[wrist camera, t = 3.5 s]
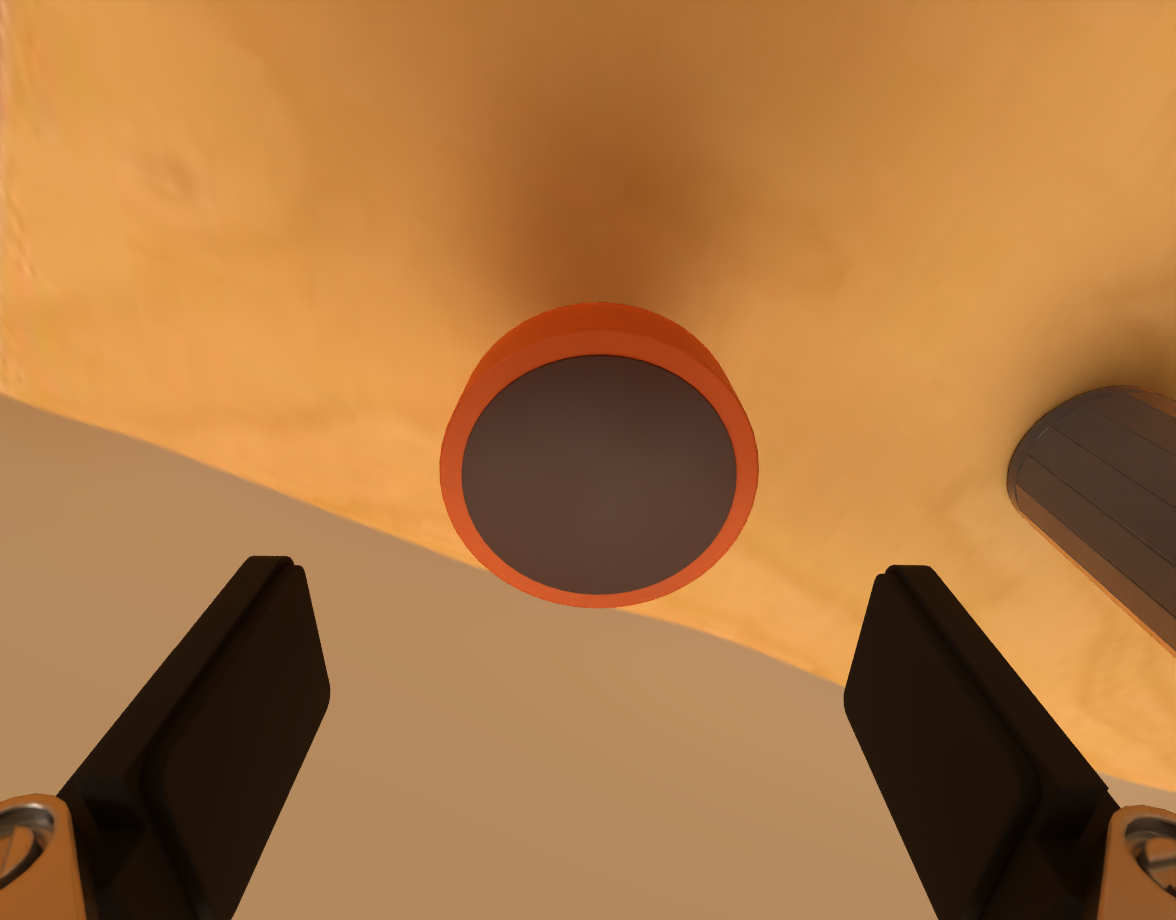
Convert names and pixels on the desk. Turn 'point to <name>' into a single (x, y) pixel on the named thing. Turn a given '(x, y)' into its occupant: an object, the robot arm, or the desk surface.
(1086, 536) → the tumbler
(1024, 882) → the robot arm
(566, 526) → the funnel
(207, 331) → the desk surface
